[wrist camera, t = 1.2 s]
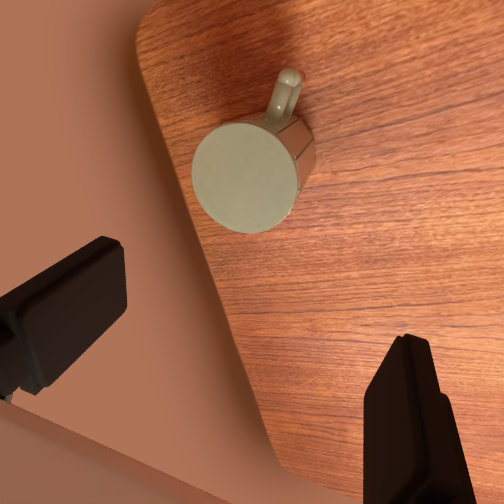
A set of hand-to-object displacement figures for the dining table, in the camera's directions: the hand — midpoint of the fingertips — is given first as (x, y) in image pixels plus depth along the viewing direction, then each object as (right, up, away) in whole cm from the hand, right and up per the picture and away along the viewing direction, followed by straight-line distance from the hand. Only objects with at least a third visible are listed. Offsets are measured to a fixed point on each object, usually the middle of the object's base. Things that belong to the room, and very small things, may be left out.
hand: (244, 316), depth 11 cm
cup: (+2, +11, +15) cm, 19 cm away
